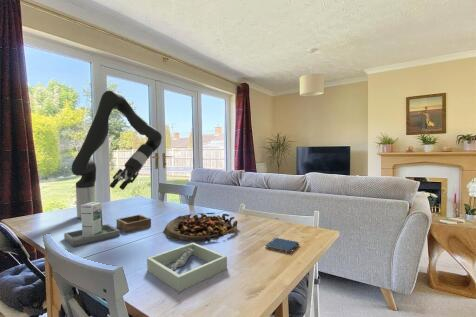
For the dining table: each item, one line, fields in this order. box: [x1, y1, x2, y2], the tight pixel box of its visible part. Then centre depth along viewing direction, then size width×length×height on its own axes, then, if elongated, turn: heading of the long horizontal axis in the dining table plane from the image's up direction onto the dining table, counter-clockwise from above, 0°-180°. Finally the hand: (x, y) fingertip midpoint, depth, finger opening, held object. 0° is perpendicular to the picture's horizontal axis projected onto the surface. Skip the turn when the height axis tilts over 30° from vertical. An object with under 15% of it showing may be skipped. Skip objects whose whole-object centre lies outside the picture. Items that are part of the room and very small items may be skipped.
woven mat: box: [264, 237, 300, 254], centre depth 100 cm, size 10×11×2 cm
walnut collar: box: [116, 214, 152, 233], centre depth 128 cm, size 12×12×4 cm
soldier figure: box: [169, 248, 193, 271], centre depth 85 cm, size 8×5×12 cm
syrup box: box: [80, 201, 103, 238], centre depth 113 cm, size 6×6×14 cm
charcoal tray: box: [63, 223, 121, 248], centre depth 113 cm, size 14×18×2 cm
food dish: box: [161, 212, 238, 242], centre depth 122 cm, size 35×33×8 cm
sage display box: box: [146, 242, 228, 293], centre depth 82 cm, size 18×18×4 cm
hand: (116, 187), depth 122 cm, fingers open, 8 cm apart
